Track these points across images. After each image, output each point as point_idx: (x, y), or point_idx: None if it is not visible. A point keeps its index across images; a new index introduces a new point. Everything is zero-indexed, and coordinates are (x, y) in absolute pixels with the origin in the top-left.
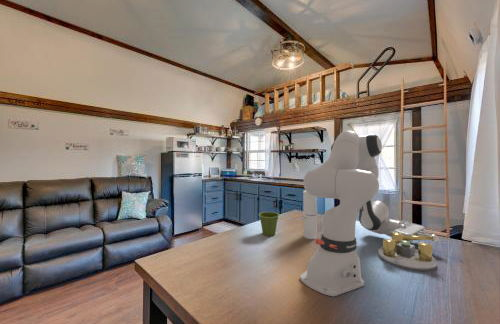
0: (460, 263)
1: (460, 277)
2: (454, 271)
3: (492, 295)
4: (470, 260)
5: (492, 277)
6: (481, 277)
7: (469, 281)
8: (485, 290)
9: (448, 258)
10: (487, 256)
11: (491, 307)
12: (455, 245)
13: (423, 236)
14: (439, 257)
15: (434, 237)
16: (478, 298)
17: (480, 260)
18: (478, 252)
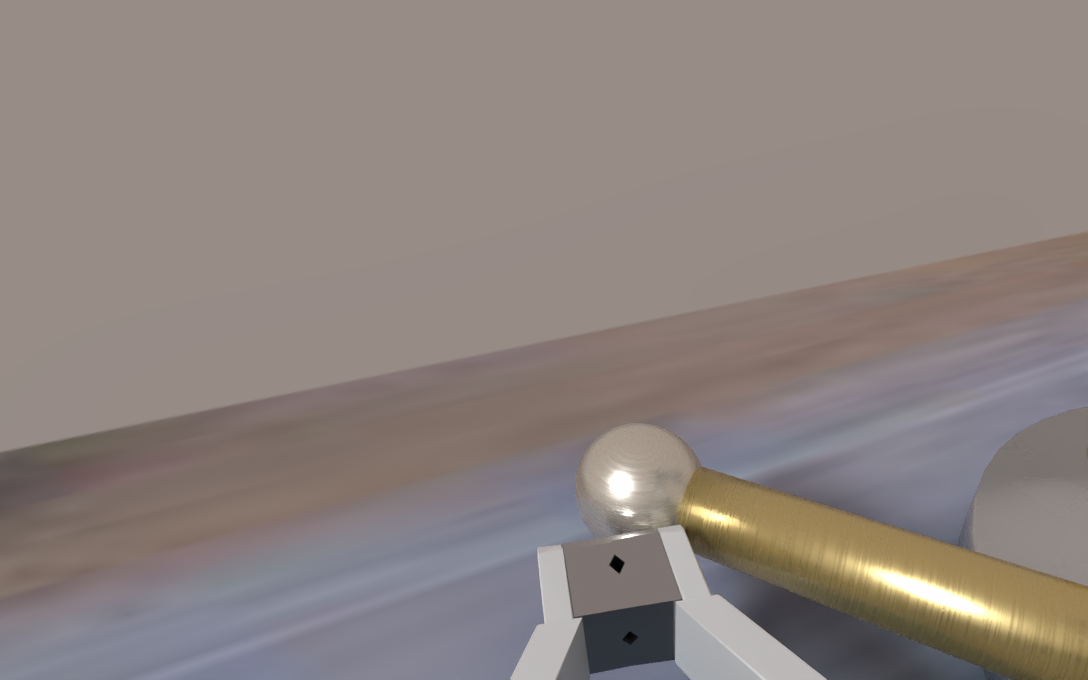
0: (695, 420)
1: (958, 344)
2: (915, 382)
3: (951, 264)
4: (541, 417)
5: (727, 310)
6: (797, 320)
7: (942, 318)
8: (941, 279)
9: None
10: (329, 408)
11: (1067, 241)
12: (91, 630)
13: (904, 533)
14: None
15: (688, 446)
16: (1069, 264)
17: (473, 397)
18: (256, 455)
